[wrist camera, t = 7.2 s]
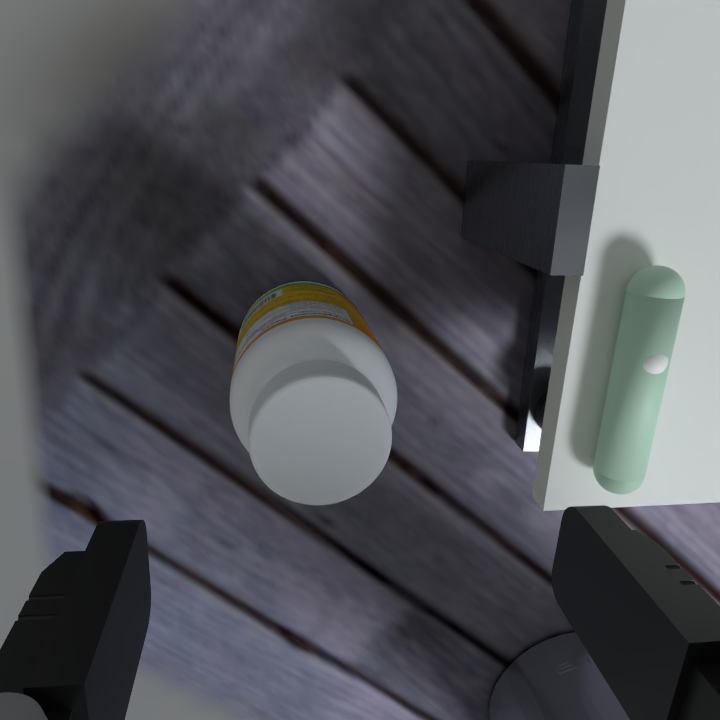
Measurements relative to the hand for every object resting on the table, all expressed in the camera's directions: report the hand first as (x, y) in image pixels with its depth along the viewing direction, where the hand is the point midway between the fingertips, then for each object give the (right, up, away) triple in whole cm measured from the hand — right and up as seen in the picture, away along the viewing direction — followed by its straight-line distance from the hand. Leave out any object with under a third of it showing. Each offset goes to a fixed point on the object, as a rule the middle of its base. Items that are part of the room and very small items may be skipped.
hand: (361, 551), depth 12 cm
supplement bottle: (-2, +4, +14) cm, 15 cm away
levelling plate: (+14, +8, +8) cm, 18 cm away
